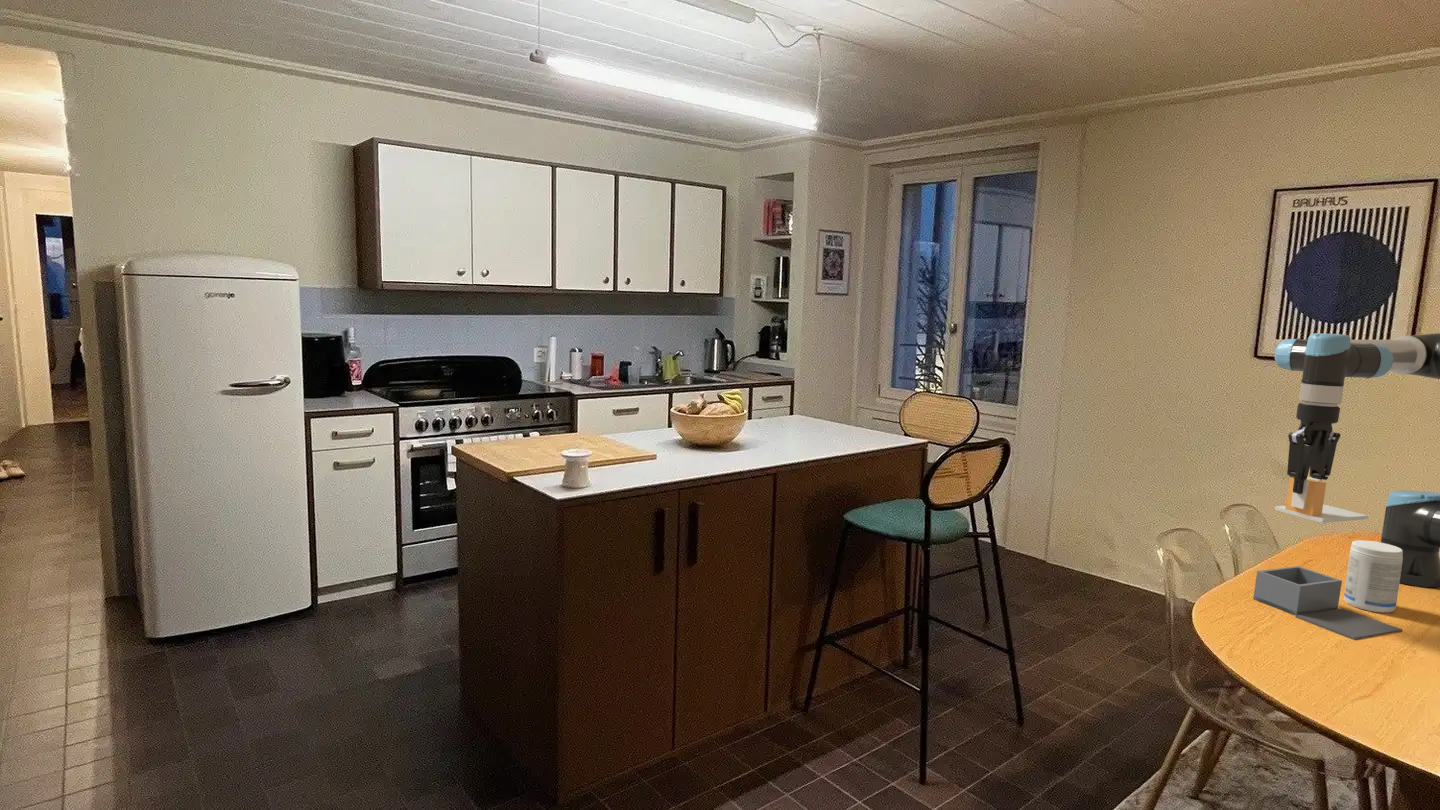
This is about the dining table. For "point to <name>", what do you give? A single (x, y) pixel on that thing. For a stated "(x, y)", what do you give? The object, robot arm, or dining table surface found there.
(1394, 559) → the supplement tub
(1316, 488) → the lid
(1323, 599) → the box
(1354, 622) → the mat
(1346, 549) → the dining table surface
